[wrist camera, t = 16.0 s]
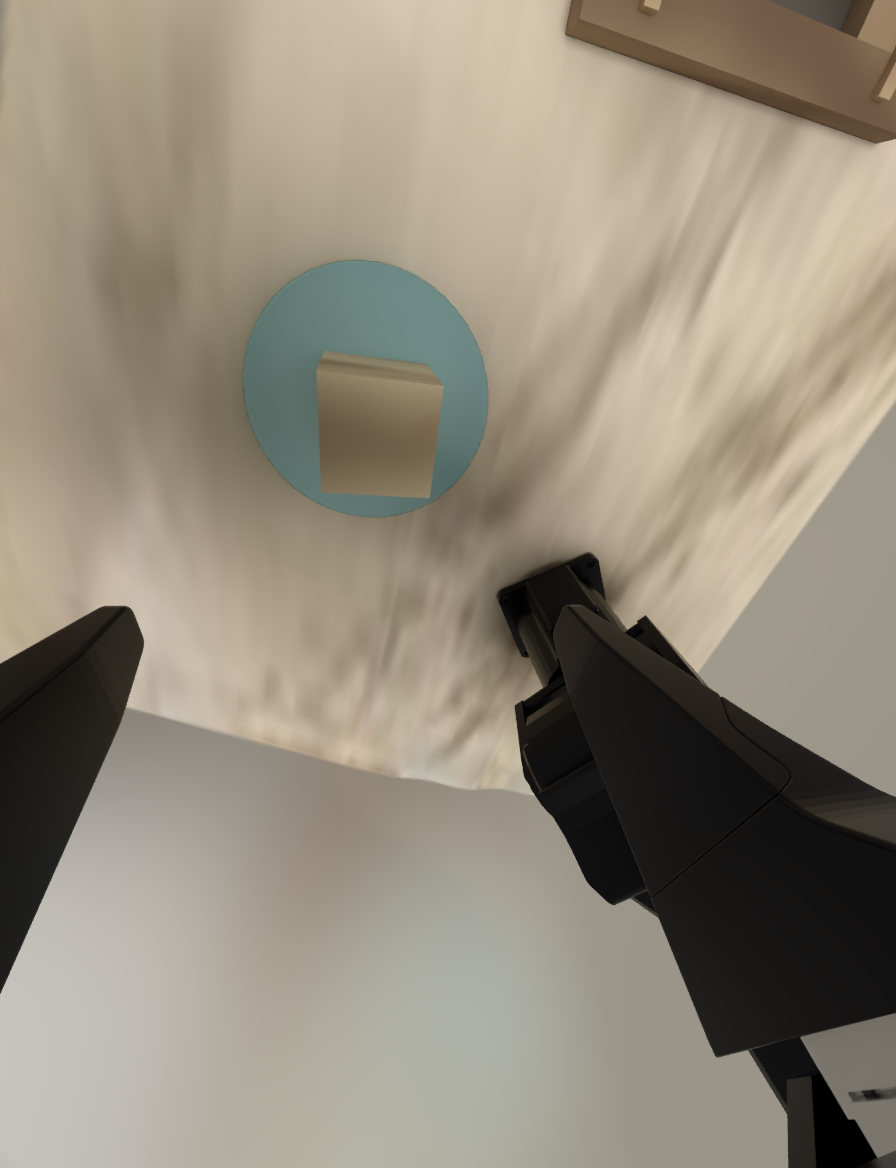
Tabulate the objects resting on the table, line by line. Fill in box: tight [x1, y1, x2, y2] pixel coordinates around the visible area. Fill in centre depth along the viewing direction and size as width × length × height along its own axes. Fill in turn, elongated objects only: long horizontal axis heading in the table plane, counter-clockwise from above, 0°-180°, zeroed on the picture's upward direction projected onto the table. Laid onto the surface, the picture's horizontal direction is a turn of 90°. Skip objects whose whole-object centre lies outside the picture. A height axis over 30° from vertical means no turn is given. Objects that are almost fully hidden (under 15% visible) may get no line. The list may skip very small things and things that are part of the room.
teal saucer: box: [243, 260, 488, 517], centre depth 18 cm, size 10×10×1 cm
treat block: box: [316, 351, 444, 498], centre depth 16 cm, size 4×4×4 cm
